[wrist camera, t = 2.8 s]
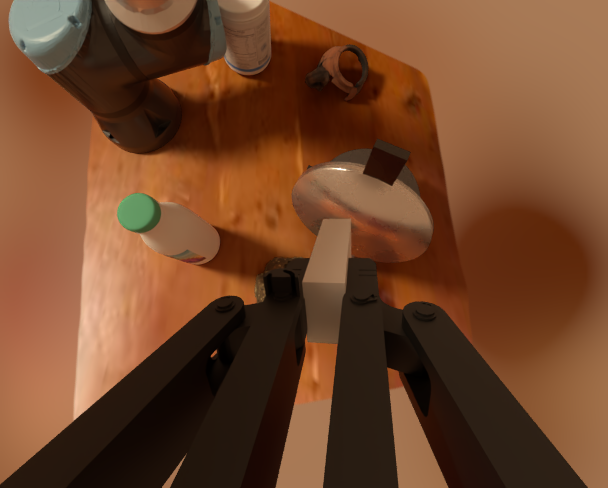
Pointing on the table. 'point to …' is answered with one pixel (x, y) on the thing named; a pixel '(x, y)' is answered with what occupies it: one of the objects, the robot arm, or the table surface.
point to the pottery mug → (337, 71)
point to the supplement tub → (246, 34)
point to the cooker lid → (367, 205)
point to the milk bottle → (169, 228)
